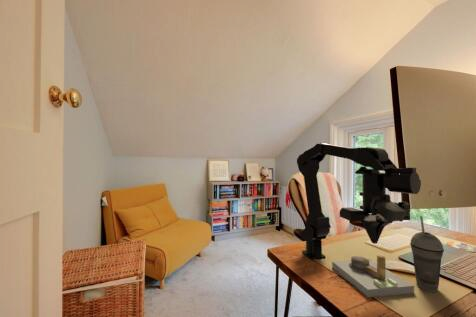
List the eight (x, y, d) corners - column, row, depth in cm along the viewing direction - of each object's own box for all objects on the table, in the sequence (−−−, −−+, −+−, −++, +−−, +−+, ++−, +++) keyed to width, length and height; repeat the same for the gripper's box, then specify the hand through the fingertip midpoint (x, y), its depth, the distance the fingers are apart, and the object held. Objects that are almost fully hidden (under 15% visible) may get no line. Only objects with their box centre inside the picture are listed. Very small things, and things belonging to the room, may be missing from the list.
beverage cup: (432, 297, 55) (431, 221, 56) (404, 282, 62) (403, 215, 63) (451, 292, 57) (450, 219, 58) (421, 278, 64) (420, 213, 65)
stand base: (332, 267, 71) (332, 258, 71) (369, 265, 72) (369, 256, 73) (368, 297, 55) (368, 285, 55) (414, 293, 57) (414, 282, 57)
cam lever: (347, 263, 68) (347, 245, 68) (359, 261, 70) (359, 243, 70) (378, 281, 58) (378, 259, 58) (391, 278, 60) (390, 257, 60)
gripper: (365, 194, 52) (365, 256, 52) (429, 193, 55) (430, 253, 54) (338, 188, 63) (338, 240, 63) (392, 188, 66) (393, 238, 65)
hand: (374, 243), depth 61 cm, fingers closed
